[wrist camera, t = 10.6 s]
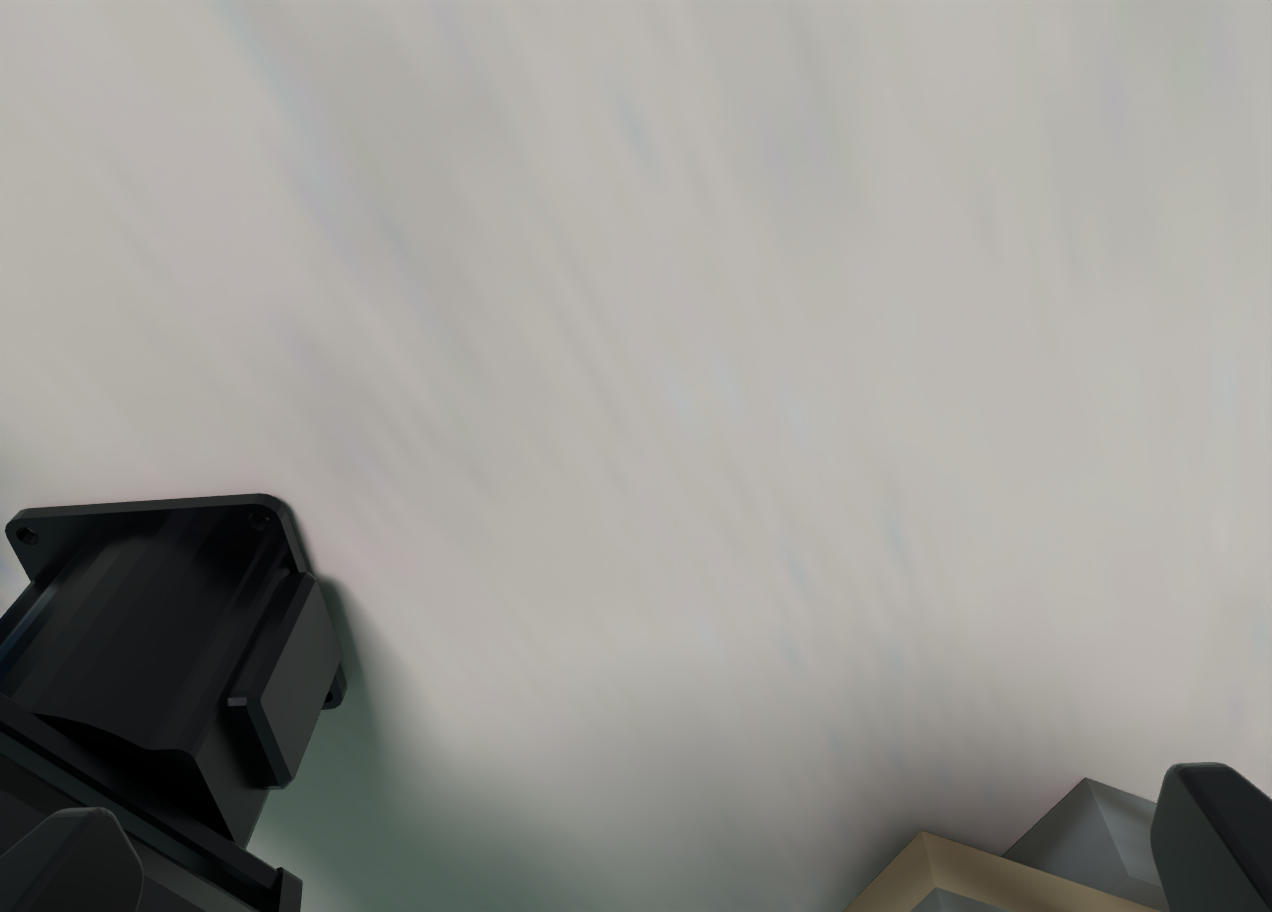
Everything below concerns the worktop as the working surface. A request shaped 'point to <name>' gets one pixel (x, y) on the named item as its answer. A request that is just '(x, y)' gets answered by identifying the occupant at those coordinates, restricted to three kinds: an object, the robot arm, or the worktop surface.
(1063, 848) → the grey open tray
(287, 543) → the robot arm
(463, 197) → the worktop surface
